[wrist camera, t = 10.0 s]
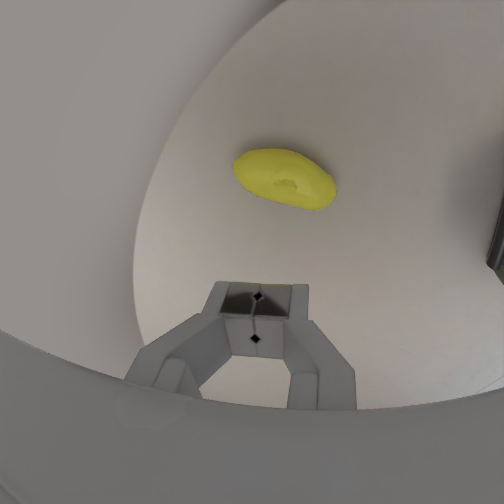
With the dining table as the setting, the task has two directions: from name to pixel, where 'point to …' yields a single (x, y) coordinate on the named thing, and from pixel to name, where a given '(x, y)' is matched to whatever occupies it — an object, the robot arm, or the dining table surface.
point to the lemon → (285, 178)
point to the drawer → (498, 249)
